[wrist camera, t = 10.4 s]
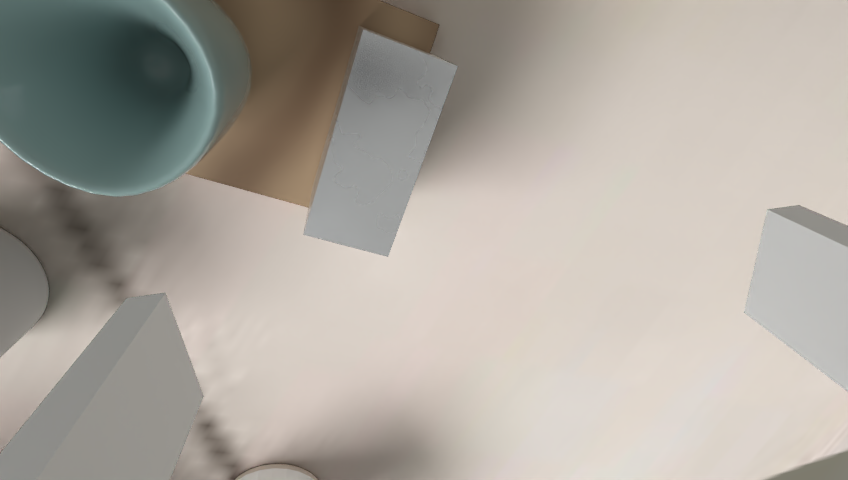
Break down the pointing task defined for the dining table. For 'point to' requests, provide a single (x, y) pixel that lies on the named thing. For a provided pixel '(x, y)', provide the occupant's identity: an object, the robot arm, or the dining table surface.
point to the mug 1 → (19, 290)
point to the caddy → (296, 87)
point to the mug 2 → (276, 473)
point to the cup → (119, 88)
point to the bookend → (376, 142)
